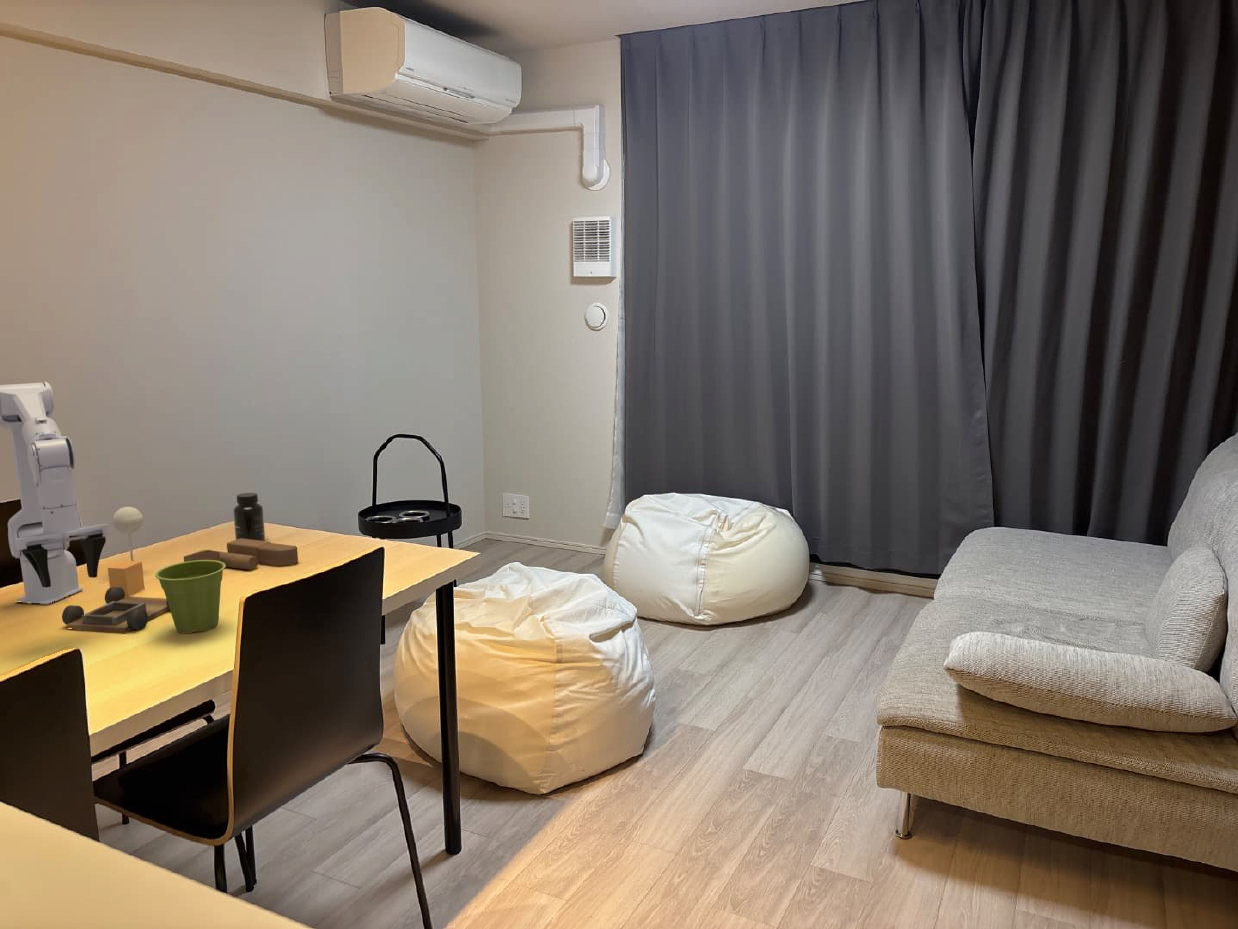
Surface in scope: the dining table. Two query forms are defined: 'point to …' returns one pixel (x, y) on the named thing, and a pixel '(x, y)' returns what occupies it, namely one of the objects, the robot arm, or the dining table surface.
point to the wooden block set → (250, 554)
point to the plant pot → (193, 593)
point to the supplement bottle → (249, 517)
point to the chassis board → (116, 613)
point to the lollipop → (128, 522)
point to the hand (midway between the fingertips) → (70, 582)
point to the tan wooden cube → (127, 576)
